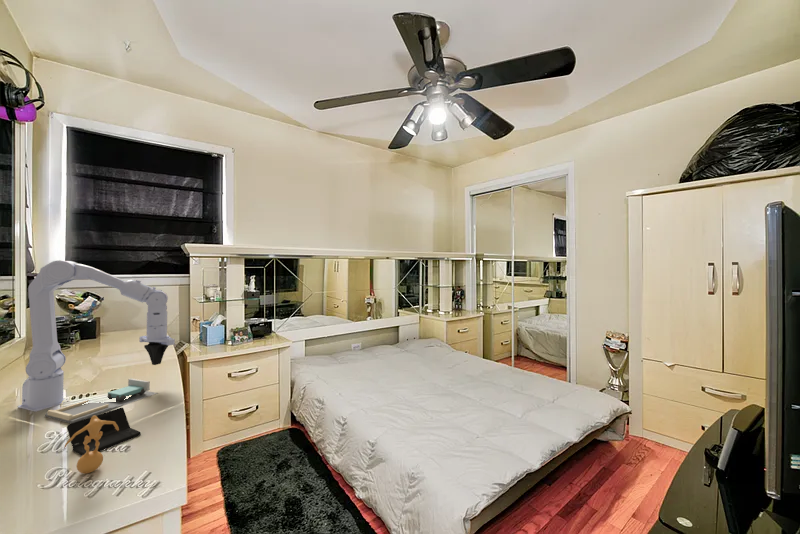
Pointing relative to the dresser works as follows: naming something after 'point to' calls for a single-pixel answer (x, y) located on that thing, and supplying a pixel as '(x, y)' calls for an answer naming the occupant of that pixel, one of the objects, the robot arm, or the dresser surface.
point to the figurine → (93, 458)
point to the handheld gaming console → (109, 432)
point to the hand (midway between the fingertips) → (156, 364)
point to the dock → (90, 408)
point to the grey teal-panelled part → (130, 389)
